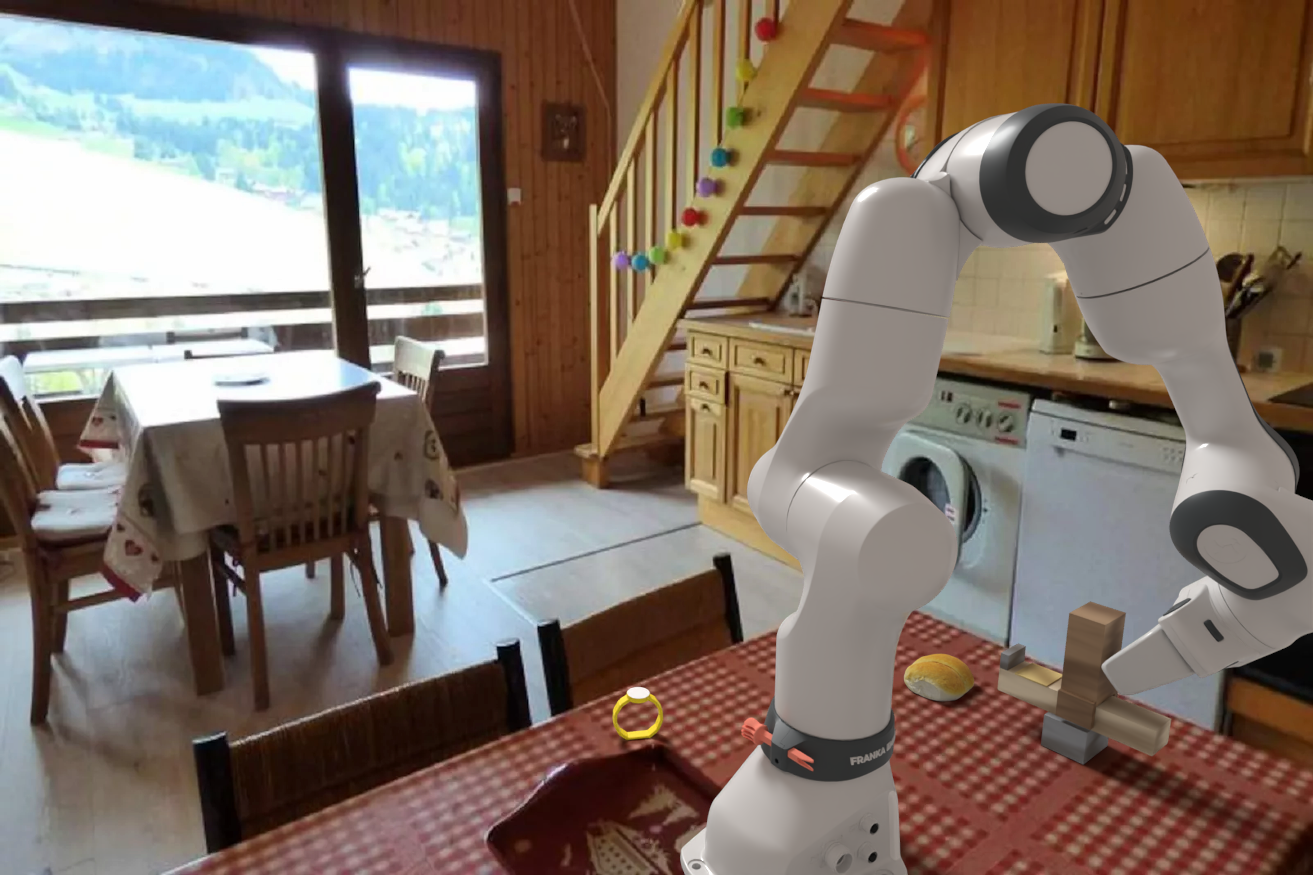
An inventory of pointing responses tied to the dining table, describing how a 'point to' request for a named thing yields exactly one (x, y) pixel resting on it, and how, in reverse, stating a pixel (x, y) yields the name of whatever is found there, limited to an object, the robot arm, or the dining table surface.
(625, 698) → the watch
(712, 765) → the dining table surface
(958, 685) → the bread roll
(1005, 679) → the seesaw
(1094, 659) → the plate
